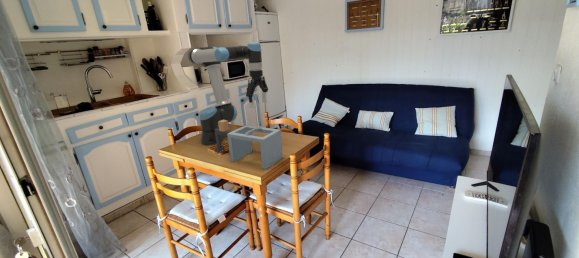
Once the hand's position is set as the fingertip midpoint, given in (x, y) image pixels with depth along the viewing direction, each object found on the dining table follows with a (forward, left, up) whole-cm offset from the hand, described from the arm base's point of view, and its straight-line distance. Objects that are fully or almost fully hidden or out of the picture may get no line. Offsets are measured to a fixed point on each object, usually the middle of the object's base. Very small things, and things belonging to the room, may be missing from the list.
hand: (258, 104), depth 168 cm
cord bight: (-15, -17, -28) cm, 36 cm away
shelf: (+8, -17, -28) cm, 34 cm away
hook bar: (+8, -17, -12) cm, 22 cm away
